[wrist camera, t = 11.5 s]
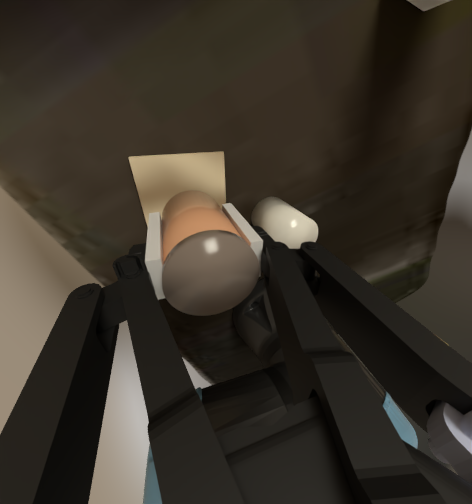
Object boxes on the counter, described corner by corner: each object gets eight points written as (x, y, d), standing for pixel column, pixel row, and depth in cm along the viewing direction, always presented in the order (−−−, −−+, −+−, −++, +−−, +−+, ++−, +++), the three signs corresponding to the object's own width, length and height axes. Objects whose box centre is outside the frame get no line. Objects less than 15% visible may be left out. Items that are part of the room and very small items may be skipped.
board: (225, 228, 26) (227, 230, 26) (152, 240, 24) (151, 242, 23) (222, 151, 21) (223, 152, 21) (129, 156, 19) (128, 157, 19)
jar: (220, 184, 16) (260, 227, 10) (225, 240, 19) (259, 301, 13) (152, 194, 15) (148, 250, 9) (168, 252, 18) (174, 325, 12)
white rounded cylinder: (283, 229, 29) (313, 255, 24) (250, 234, 28) (274, 263, 22) (287, 194, 26) (322, 214, 21) (251, 199, 25) (278, 221, 20)
